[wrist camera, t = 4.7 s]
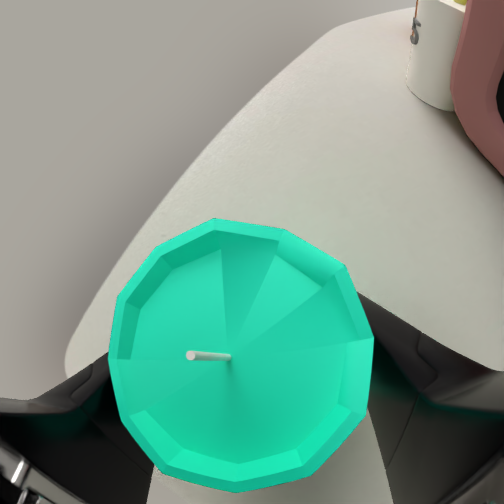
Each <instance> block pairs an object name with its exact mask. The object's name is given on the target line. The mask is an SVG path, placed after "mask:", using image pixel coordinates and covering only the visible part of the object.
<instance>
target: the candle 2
mask: <svg viewBox="0 0 504 504" xmlns="http://www.w3.org/2000/svg"><path fill="white" fill-rule="evenodd" d="M466 3H467V0H418V7H417V16H416V18H413V26H412V30H413V31H414V36H411V37H410V39H411V42H412V49H411V55H410V60H409V66H408V71H407V76H406V84H407V86H408V87H409V89H410V90H411V91H412V92H413V94H415V95H416V96H417V97H418V98H419V99H421V100H422V101H424V102H426V103H427V104H429V105H431V106H433V107H435V108H438V109H441V110H446V111H455V109H454V104H453V100H452V95H451V91H450V80H451V68H452V63H453V60H454V56H455V52H456V49H457V45H458V41H459V37H460V32H461V28H462V23H463V19H464V14H465V8H466Z"/></svg>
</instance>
